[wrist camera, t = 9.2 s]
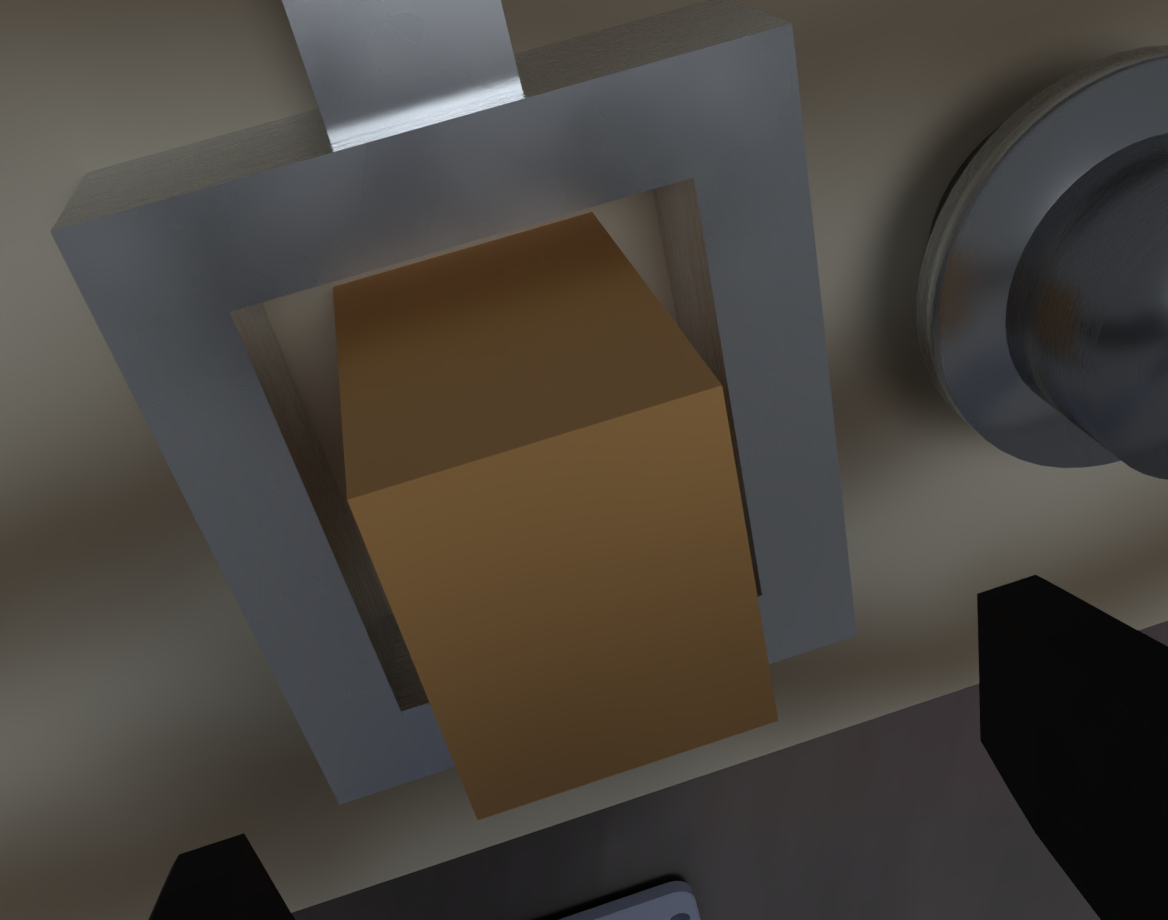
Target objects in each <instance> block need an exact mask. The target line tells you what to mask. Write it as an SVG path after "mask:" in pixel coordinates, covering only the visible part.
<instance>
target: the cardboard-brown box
mask: <svg viewBox="0 0 1168 920" xmlns="http://www.w3.org/2000/svg"><path fill="white" fill-rule="evenodd" d="M333 297H334V312H335V327H336V342H337V357H338V372H339V387H340V402H341V417H342V432H343V447H344V461H345V476H346V491H347V501H348V503H349V506H350V508H351V511H352V513H353V516H354V518H355V521H356V523H357V526H358V528H359V530H360V533H361V535H362V538H363V540H364V543H365V545H366V548H367V550H368V553H369V555H370V557H371V560H372V562H373V565H374V567H375V570H376V572H377V575H378V577H379V580H380V582H381V585H382V587H383V589H384V592H385V594H386V597H387V599H388V602H389V604H390V607H391V609H392V612H393V614H394V616H395V619H396V621H397V624H398V626H399V629H400V631H401V634H402V636H403V639H404V641H405V644H406V646H407V648H408V651H409V653H410V656H411V658H412V661H413V663H414V666H415V668H416V671H417V673H418V675H419V678H420V680H421V683H422V685H423V688H424V690H425V693H426V695H427V698H428V700H429V702H430V705H431V707H432V710H433V712H434V715H435V717H436V720H437V722H438V725H439V727H440V730H441V732H442V734H443V737H444V739H445V742H446V744H447V747H448V749H449V752H450V754H451V757H452V759H453V761H454V764H455V766H456V769H457V771H458V774H459V776H460V779H461V781H462V784H463V786H464V789H465V791H466V793H467V796H468V798H469V801H470V803H471V806H472V808H473V811H474V813H475V816H476V818H477V820H480V819H483V818H486V817H489V816H492V815H495V814H499V813H502V812H505V811H508V810H511V809H514V808H517V807H520V806H523V805H526V804H529V803H532V802H535V801H538V800H541V799H544V798H547V797H550V796H553V795H556V794H559V793H562V792H565V791H568V790H571V789H574V788H577V787H580V786H583V785H586V784H589V783H592V782H595V781H598V780H601V779H604V778H607V777H610V776H613V775H616V774H619V773H622V772H625V771H628V770H631V769H634V768H637V767H640V766H643V765H646V764H649V763H652V762H655V761H658V760H661V759H664V758H667V757H670V756H673V755H676V754H679V753H683V752H686V751H689V750H692V749H695V748H698V747H701V746H704V745H707V744H710V743H713V742H716V741H719V740H722V739H725V738H728V737H731V736H734V735H737V734H740V733H743V732H746V731H749V730H752V729H755V728H758V727H761V726H764V725H767V724H770V723H773V722H776V721H778V716H777V710H776V704H775V698H774V692H773V686H772V680H771V674H770V668H769V662H768V656H767V650H766V644H765V638H764V632H763V626H762V620H761V614H760V608H759V602H758V596H757V590H756V584H755V578H754V572H753V566H752V560H751V554H750V549H749V543H748V537H747V531H746V525H745V519H744V513H743V507H742V501H741V495H740V489H739V483H738V477H737V471H736V465H735V459H734V453H733V447H732V441H731V435H730V429H729V423H728V417H727V411H726V405H725V399H724V393H723V387H722V384H721V383H720V382H719V380H718V379H717V378H716V376H715V375H714V374H713V372H712V371H711V370H710V368H709V367H708V366H707V364H706V363H705V362H704V360H703V359H702V358H701V356H700V355H699V354H698V352H697V351H696V350H695V348H694V347H693V346H692V344H691V343H690V342H689V340H688V339H687V338H686V336H685V335H684V334H683V332H682V331H681V330H680V328H679V327H678V326H677V324H676V323H675V322H674V320H673V319H672V318H671V316H670V315H669V314H668V312H667V311H666V310H665V308H664V307H663V306H662V304H661V303H660V302H659V300H658V299H657V298H656V296H655V295H654V294H653V292H652V291H651V290H650V288H649V287H648V286H647V284H646V283H645V282H644V280H643V279H642V278H641V276H640V275H639V274H638V272H637V271H636V270H635V268H634V267H633V266H632V264H631V263H630V262H629V260H628V259H627V258H626V256H625V255H624V254H623V252H622V251H621V250H620V248H619V247H618V246H617V244H616V243H615V242H614V240H613V239H612V238H611V236H610V235H609V234H608V232H607V231H606V230H605V228H604V227H603V226H602V224H601V223H600V222H599V220H598V219H597V218H596V216H595V215H594V214H593V212H589V213H586V214H582V215H579V216H576V217H572V218H569V219H565V220H562V221H558V222H555V223H551V224H548V225H545V226H541V227H538V228H534V229H531V230H527V231H524V232H520V233H517V234H513V235H510V236H507V237H503V238H500V239H496V240H493V241H489V242H486V243H482V244H479V245H476V246H472V247H469V248H465V249H462V250H458V251H455V252H451V253H448V254H445V255H441V256H438V257H434V258H431V259H427V260H424V261H420V262H417V263H414V264H410V265H407V266H403V267H400V268H396V269H393V270H389V271H386V272H383V273H379V274H376V275H372V276H369V277H365V278H362V279H358V280H355V281H352V282H348V283H345V284H341V285H338V286H334V287H333Z"/></svg>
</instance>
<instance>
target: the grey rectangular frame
mask: <svg viewBox="0 0 1168 920" xmlns="http://www.w3.org/2000/svg"><path fill="white" fill-rule="evenodd" d="M282 2H283V5H284V8H285V11H286V14H287V16H288V19H289V22H290V25H291V28H292V31H293V34H294V37H295V40H296V43H297V46H298V49H299V52H300V54H301V57H302V60H303V63H304V66H305V69H306V72H307V75H308V78H309V81H310V84H311V87H312V90H313V92H314V95H315V98H316V101H317V104H318V107H319V108H318V109H314V110H311V111H307V112H303V113H300V114H296V115H292V116H289V117H285V118H282V119H278V120H274V121H271V122H267V123H264V124H260V125H256V126H253V127H249V128H246V129H242V130H238V131H235V132H231V133H227V134H224V135H220V136H217V137H213V138H209V139H206V140H202V141H199V142H195V143H191V144H188V145H184V146H181V147H177V148H173V149H170V150H166V151H162V152H159V153H155V154H152V155H148V156H144V157H141V158H137V159H134V160H130V161H126V162H123V163H119V164H116V165H112V166H108V167H105V168H101V169H97V170H94V171H90V172H87V173H86V174H85V176H84V178H83V179H82V181H81V182H80V184H79V186H78V187H77V189H76V191H75V192H74V194H73V195H72V197H71V199H70V200H69V202H68V203H67V205H66V207H65V208H64V210H63V212H62V213H61V215H60V216H59V218H58V220H57V221H56V223H55V225H54V226H53V228H52V229H51V231H50V232H51V234H52V236H53V238H54V240H55V242H56V244H57V246H58V248H59V250H60V252H61V254H62V256H63V258H64V260H65V262H66V264H67V266H68V268H69V270H70V272H71V274H72V276H73V278H74V280H75V282H76V284H77V286H78V288H79V290H80V292H81V294H82V296H83V298H84V300H85V302H86V304H87V306H88V308H89V309H90V311H91V313H92V315H93V317H94V319H95V321H96V323H97V325H98V327H99V329H100V331H101V333H102V335H103V337H104V339H105V341H106V343H107V345H108V347H109V349H110V351H111V353H112V355H113V357H114V359H115V361H116V363H117V365H118V367H119V369H120V371H121V373H122V375H123V377H124V379H125V381H126V383H127V385H128V387H129V389H130V391H131V393H132V395H133V397H134V399H135V401H136V403H137V405H138V407H139V409H140V411H141V413H142V415H143V416H144V418H145V420H146V422H147V424H148V426H149V428H150V430H151V432H152V434H153V436H154V438H155V440H156V442H157V444H158V446H159V448H160V450H161V452H162V454H163V456H164V458H165V460H166V462H167V464H168V466H169V468H170V470H171V472H172V474H173V476H174V478H175V480H176V482H177V484H178V486H179V488H180V490H181V492H182V494H183V496H184V498H185V500H186V502H187V504H188V506H189V508H190V510H191V512H192V514H193V516H194V518H195V520H196V522H197V523H198V525H199V527H200V529H201V531H202V533H203V535H204V537H205V539H206V541H207V543H208V545H209V547H210V549H211V551H212V553H213V555H214V557H215V559H216V561H217V563H218V565H219V567H220V569H221V571H222V573H223V575H224V577H225V579H226V581H227V583H228V585H229V587H230V589H231V591H232V593H233V595H234V597H235V599H236V601H237V603H238V605H239V607H240V609H241V611H242V613H243V615H244V617H245V619H246V621H247V623H248V625H249V627H250V628H251V630H252V632H253V634H254V636H255V638H256V640H257V642H258V644H259V646H260V648H261V650H262V652H263V654H264V656H265V658H266V660H267V662H268V664H269V666H270V668H271V670H272V672H273V674H274V676H275V678H276V680H277V682H278V684H279V686H280V688H281V690H282V692H283V694H284V696H285V698H286V700H287V702H288V704H289V706H290V708H291V710H292V712H293V714H294V716H295V718H296V720H297V722H298V724H299V726H300V728H301V730H302V732H303V734H304V735H305V737H306V739H307V741H308V743H309V745H310V747H311V749H312V751H313V753H314V755H315V757H316V759H317V761H318V763H319V765H320V767H321V769H322V771H323V773H324V775H325V777H326V779H327V781H328V783H329V785H330V787H331V789H332V791H333V793H334V795H335V797H336V799H337V801H338V803H339V805H340V804H343V803H346V802H349V801H353V800H356V799H359V798H362V797H365V796H368V795H371V794H374V793H377V792H380V791H383V790H386V789H389V788H392V787H395V786H398V785H401V784H405V783H408V782H411V781H414V780H417V779H420V778H423V777H426V776H429V775H432V774H435V773H438V772H441V771H444V770H447V769H450V768H453V767H456V766H455V764H454V761H453V759H452V757H451V754H450V752H449V749H448V747H447V744H446V742H445V739H444V737H443V734H442V732H441V730H440V727H439V725H438V722H437V720H436V717H435V715H434V712H433V710H432V707H431V705H430V702H429V700H428V698H427V695H426V693H425V690H424V688H423V685H422V683H421V680H420V678H419V675H418V673H417V671H416V668H415V666H414V663H413V661H412V658H411V656H410V653H409V651H408V648H407V646H406V644H405V641H404V639H403V636H402V634H401V631H400V629H399V626H398V624H397V621H396V619H395V616H394V614H393V613H392V614H390V613H389V610H388V608H387V605H386V603H385V601H384V598H383V596H382V593H381V591H380V588H379V586H378V583H377V581H376V579H375V576H374V574H373V571H372V569H371V566H370V564H369V561H368V559H367V557H366V554H365V552H364V549H363V547H362V544H361V542H360V539H359V537H358V534H357V532H356V530H355V527H354V525H353V522H352V520H351V517H350V515H349V512H348V510H347V508H346V505H345V503H344V500H343V498H342V495H341V493H340V490H339V488H338V486H337V483H336V481H335V478H334V476H333V473H332V471H331V468H330V466H329V464H328V461H327V459H326V456H325V454H324V451H323V449H322V446H321V444H320V442H319V439H318V437H317V434H316V432H315V429H314V427H313V424H312V422H311V420H310V417H309V415H308V412H307V410H306V407H305V405H304V402H303V400H302V398H301V395H300V393H299V390H298V388H297V385H296V383H295V380H294V378H293V376H292V373H291V371H290V368H289V366H288V363H287V361H286V358H285V356H284V353H283V351H282V349H281V346H280V344H279V341H278V339H277V336H276V334H275V331H274V329H273V327H272V324H271V322H270V319H269V317H268V314H267V312H266V309H265V307H264V305H263V302H265V301H269V300H272V299H275V298H279V297H282V296H286V295H289V294H293V293H296V292H300V291H303V290H307V289H310V288H313V287H317V286H320V285H324V284H327V283H331V282H334V281H338V280H341V279H344V278H348V277H351V276H355V275H358V274H362V273H365V272H369V271H372V270H376V269H379V268H382V267H386V266H389V265H393V264H396V263H400V262H403V261H407V260H410V259H414V258H417V257H420V256H424V255H427V254H431V253H434V252H438V251H441V250H445V249H448V248H452V247H455V246H458V245H462V244H465V243H469V242H472V241H476V240H479V239H483V238H486V237H490V236H493V235H496V234H500V233H503V232H507V231H510V230H514V229H517V228H521V227H524V226H528V225H531V224H534V223H538V222H541V221H545V220H548V219H552V218H555V217H559V216H562V215H565V214H569V213H572V212H576V211H579V210H583V209H586V208H590V207H593V206H597V205H600V204H603V203H607V202H610V201H614V200H617V199H621V198H624V197H628V196H631V195H635V194H638V193H641V192H645V191H648V190H652V189H653V194H654V199H655V205H656V210H657V215H658V221H659V226H660V232H661V237H662V242H663V248H664V253H665V259H666V264H667V269H668V275H669V280H670V285H671V291H672V296H673V302H674V307H675V312H676V318H677V323H678V327H679V328H680V330H681V331H682V332H683V334H684V335H685V336H686V338H687V339H688V340H689V342H690V343H691V344H692V346H693V347H694V348H695V350H696V351H697V352H698V354H699V355H700V356H701V358H702V359H703V360H704V362H705V363H706V364H707V366H708V367H709V368H710V370H711V371H712V372H713V374H714V375H715V376H716V378H717V379H718V380H719V382H720V383H721V384H722V387H723V393H724V399H725V405H726V411H727V417H728V423H729V429H730V435H731V441H732V447H733V453H734V459H735V465H736V471H737V477H738V483H739V489H740V495H741V501H742V507H743V513H744V519H745V525H746V531H747V537H748V543H749V549H750V554H751V560H752V566H753V572H754V578H755V584H756V590H757V596H758V602H759V608H760V614H761V620H762V626H763V632H764V638H765V644H766V650H767V656H768V662H769V664H771V663H775V662H778V661H781V660H784V659H787V658H790V657H793V656H796V655H799V654H802V653H805V652H808V651H811V650H814V649H817V648H820V647H823V646H827V645H830V644H833V643H836V642H839V641H842V640H845V639H848V638H851V637H854V636H857V633H856V623H855V614H854V604H853V595H852V585H851V576H850V566H849V557H848V547H847V538H846V529H845V519H844V510H843V500H842V491H841V481H840V472H839V462H838V453H837V443H836V434H835V424H834V415H833V405H832V396H831V387H830V377H829V368H828V358H827V349H826V339H825V330H824V320H823V311H822V301H821V292H820V282H819V273H818V263H817V254H816V245H815V235H814V226H813V216H812V207H811V197H810V188H809V178H808V169H807V159H806V150H805V140H804V131H803V121H802V112H801V103H800V93H799V84H798V74H797V65H796V55H795V46H794V36H793V27H792V23H790V22H787V21H785V20H782V19H780V18H777V17H775V16H772V15H770V14H768V13H765V12H763V11H760V10H758V9H755V8H753V7H750V6H748V5H745V4H743V3H740V2H738V1H736V0H708V1H704V2H700V3H697V4H693V5H690V6H686V7H682V8H679V9H675V10H672V11H668V12H664V13H661V14H657V15H654V16H650V17H646V18H643V19H639V20H635V21H632V22H628V23H625V24H621V25H617V26H614V27H610V28H607V29H603V30H599V31H596V32H592V33H589V34H585V35H581V36H578V37H574V38H570V39H567V40H563V41H560V42H556V43H552V44H549V45H545V46H542V47H538V48H534V49H531V50H527V51H524V52H520V53H516V54H514V53H513V49H512V45H511V41H510V37H509V33H508V28H507V24H506V20H505V16H504V12H503V8H502V3H501V0H282ZM916 323H917V331H918V339H919V346H920V350H921V353H922V357H923V360H924V364H925V367H926V369H927V371H928V374H929V376H930V378H931V380H932V382H933V384H934V386H935V388H936V389H937V391H938V392H939V393H940V395H941V396H942V398H943V399H944V401H945V402H946V403H947V404H948V405H949V406H950V407H951V408H952V409H953V410H954V411H955V412H956V413H957V414H958V415H959V416H960V417H961V418H962V419H963V420H964V421H965V422H966V423H968V424H969V425H970V426H971V427H972V428H973V429H974V430H975V431H976V432H978V433H979V434H980V435H981V436H982V437H983V438H984V439H985V440H987V441H988V442H989V443H991V444H992V445H994V446H995V447H997V448H998V449H1000V450H1001V451H1002V452H1005V453H1007V454H1009V455H1011V456H1013V457H1015V458H1018V459H1020V460H1023V461H1026V462H1030V463H1034V464H1037V465H1041V466H1049V467H1058V468H1085V467H1092V466H1099V465H1106V464H1110V463H1114V462H1118V461H1122V462H1124V463H1125V464H1126V465H1128V466H1129V467H1130V468H1132V469H1134V470H1136V471H1138V472H1141V473H1143V474H1145V475H1148V476H1152V477H1155V478H1159V479H1167V480H1168V45H1163V46H1148V47H1142V48H1138V49H1133V50H1128V51H1124V52H1119V53H1116V54H1114V55H1111V56H1108V57H1105V58H1102V59H1100V60H1097V61H1094V62H1091V63H1089V64H1087V65H1085V66H1083V67H1081V68H1079V69H1077V70H1076V71H1074V72H1072V73H1070V74H1068V75H1066V76H1064V77H1062V78H1061V79H1059V80H1058V81H1056V82H1055V83H1053V84H1052V85H1050V86H1048V87H1047V88H1045V89H1044V90H1042V91H1041V92H1039V93H1038V94H1037V95H1035V96H1034V97H1033V98H1032V99H1030V100H1029V101H1028V102H1027V103H1026V104H1024V105H1023V106H1022V107H1021V108H1019V109H1018V110H1017V111H1016V112H1015V113H1013V114H1012V115H1011V116H1010V117H1009V118H1008V119H1007V120H1006V121H1005V122H1004V123H1003V124H1002V125H1001V126H999V127H998V128H997V129H996V130H994V131H993V132H992V133H991V134H990V135H988V136H987V137H986V138H985V139H984V140H983V141H982V142H981V143H980V144H979V145H978V146H977V147H976V148H975V149H974V150H973V151H972V152H971V154H970V155H969V156H968V157H967V159H966V160H965V161H964V162H963V164H962V165H961V166H960V167H959V169H958V170H957V172H956V174H955V175H954V177H953V178H952V180H951V181H950V183H949V185H948V187H947V189H946V190H945V192H944V194H943V196H942V198H941V200H940V203H939V205H938V208H937V211H936V213H935V216H934V219H933V223H932V226H931V230H930V234H929V240H928V244H927V247H926V251H925V255H924V259H923V262H922V266H921V270H920V277H919V284H918V291H917V306H916Z"/></svg>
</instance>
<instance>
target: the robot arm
mask: <svg viewBox="0 0 1168 920" xmlns="http://www.w3.org/2000/svg"><path fill="white" fill-rule="evenodd" d="M977 614H978V653H979V693H980V732H981V742H982V744H983V745H984V747H985V749H986V750H987V752H988V754H989V756H990V757H991V759H992V761H993V763H994V764H995V766H996V768H997V770H998V771H999V773H1000V775H1001V776H1002V778H1003V780H1004V782H1005V783H1006V785H1007V787H1008V789H1009V790H1010V792H1011V794H1012V795H1013V797H1014V799H1015V800H1016V802H1017V803H1018V805H1019V807H1020V808H1021V810H1022V812H1023V813H1024V815H1025V817H1026V818H1027V820H1028V821H1029V823H1030V825H1031V826H1032V828H1033V830H1034V831H1035V833H1036V834H1037V836H1038V837H1039V838H1040V840H1041V841H1042V842H1043V844H1044V845H1045V846H1046V848H1047V849H1048V850H1049V852H1050V853H1051V854H1052V856H1053V857H1054V858H1055V860H1056V861H1057V862H1058V864H1059V865H1060V866H1061V868H1062V869H1063V870H1064V872H1065V873H1066V874H1067V876H1068V877H1069V878H1070V880H1071V881H1072V882H1073V884H1074V885H1075V886H1076V887H1077V889H1078V890H1079V891H1080V893H1081V894H1082V895H1083V897H1084V898H1085V899H1086V901H1087V902H1088V903H1089V905H1090V906H1091V907H1092V909H1093V910H1094V911H1095V912H1096V914H1097V915H1098V916H1099V918H1100V919H1101V920H1168V647H1167V646H1165V645H1164V644H1162V643H1160V642H1158V641H1156V640H1154V639H1153V638H1151V637H1149V636H1147V635H1145V634H1143V633H1142V632H1140V631H1138V630H1136V629H1134V628H1132V627H1131V626H1129V625H1127V624H1125V623H1123V622H1121V621H1120V620H1118V619H1116V618H1114V617H1112V616H1111V615H1109V614H1107V613H1105V612H1103V611H1102V610H1100V609H1098V608H1096V607H1094V606H1093V605H1091V604H1089V603H1087V602H1085V601H1084V600H1082V599H1080V598H1078V597H1076V596H1074V595H1073V594H1071V593H1069V592H1067V591H1065V590H1064V589H1062V588H1060V587H1058V586H1056V585H1054V584H1052V583H1051V582H1049V581H1047V580H1045V579H1043V578H1041V577H1039V576H1037V575H1033V576H1030V577H1027V578H1024V579H1021V580H1018V581H1015V582H1011V583H1008V584H1005V585H1002V586H999V587H996V588H993V589H990V590H987V591H984V592H981V593H978V594H977ZM148 920H295V919H294V917H293V915H292V914H291V912H290V910H289V909H288V907H287V905H286V903H285V902H284V900H283V898H282V897H281V895H280V893H279V892H278V890H277V888H276V886H275V885H274V883H273V881H272V880H271V878H270V876H269V875H268V873H267V871H266V869H265V868H264V866H263V864H262V863H261V861H260V859H259V857H258V856H257V854H256V852H255V851H254V849H253V847H252V846H251V844H250V842H249V840H248V839H247V837H246V835H245V834H244V833H243V834H240V835H237V836H234V837H231V838H228V839H225V840H222V841H219V842H216V843H213V844H209V845H206V846H203V847H200V848H197V849H194V850H191V851H188V852H185V853H182V854H179V855H178V857H177V859H176V860H175V862H174V864H173V865H172V867H171V869H170V872H169V874H168V876H167V878H166V881H165V883H164V885H163V887H162V890H161V892H160V894H159V897H158V899H157V901H156V903H155V906H154V908H153V910H152V913H151V915H150V917H149V919H148ZM558 920H701V919H700V915H699V911H698V907H697V903H696V899H695V897H694V894H693V891H692V889H691V887H690V885H689V884H687V883H685V882H683V881H671V882H667V883H664V884H661V885H658V886H655V887H652V888H649V889H646V890H643V891H640V892H638V893H635V894H632V895H629V896H626V897H623V898H620V899H617V900H614V901H611V902H608V903H605V904H602V905H599V906H596V907H593V908H591V909H588V910H585V911H582V912H579V913H576V914H573V915H570V916H567V917H564V918H561V919H558Z"/></svg>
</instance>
